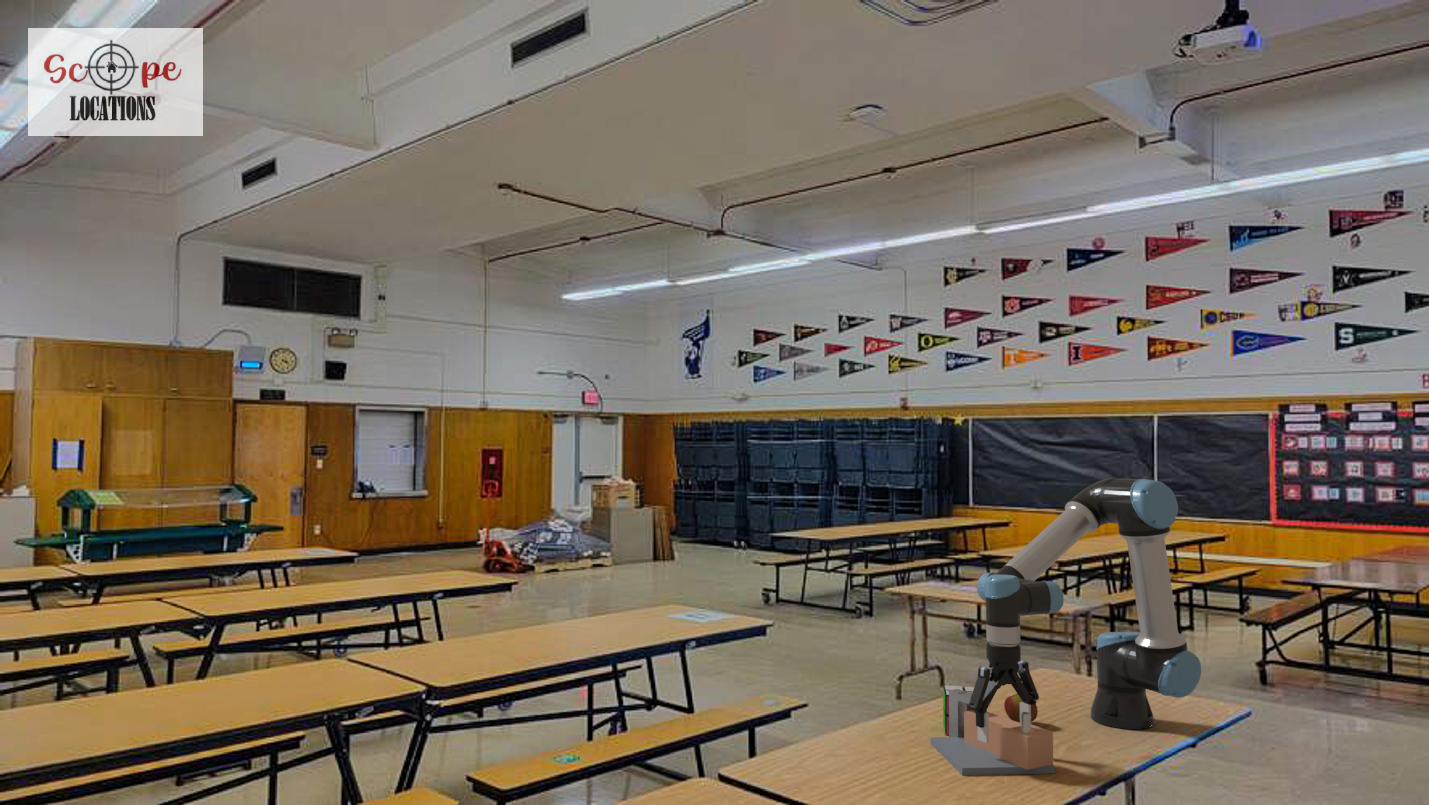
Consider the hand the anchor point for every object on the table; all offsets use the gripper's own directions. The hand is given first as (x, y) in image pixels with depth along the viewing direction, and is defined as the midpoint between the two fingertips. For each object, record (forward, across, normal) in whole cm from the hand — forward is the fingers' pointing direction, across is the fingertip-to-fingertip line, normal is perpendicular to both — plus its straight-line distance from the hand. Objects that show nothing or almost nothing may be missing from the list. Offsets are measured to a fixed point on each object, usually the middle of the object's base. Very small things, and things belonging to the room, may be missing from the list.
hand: (1004, 736), depth 207 cm
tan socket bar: (+4, 0, 0) cm, 4 cm away
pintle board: (+5, +3, -2) cm, 6 cm away
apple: (+6, -24, -18) cm, 31 cm away
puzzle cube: (+5, -7, -20) cm, 22 cm away
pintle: (+5, 0, +6) cm, 8 cm away
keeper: (+5, 0, -11) cm, 12 cm away
